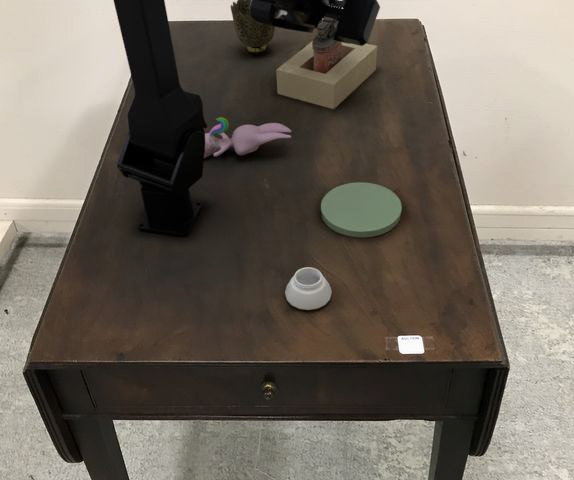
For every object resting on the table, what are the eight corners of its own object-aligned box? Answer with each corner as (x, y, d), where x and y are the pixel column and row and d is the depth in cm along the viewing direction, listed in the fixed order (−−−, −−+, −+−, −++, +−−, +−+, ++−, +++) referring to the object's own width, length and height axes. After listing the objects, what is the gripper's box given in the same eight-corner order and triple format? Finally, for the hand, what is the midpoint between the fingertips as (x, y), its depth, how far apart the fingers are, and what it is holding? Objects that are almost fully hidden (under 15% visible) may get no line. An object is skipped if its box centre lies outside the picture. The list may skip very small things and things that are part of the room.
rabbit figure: (187, 175, 96) (293, 157, 94) (173, 137, 92) (284, 118, 90) (192, 150, 101) (293, 132, 98) (179, 113, 96) (285, 94, 94)
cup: (233, 62, 116) (228, 14, 110) (236, 42, 121) (232, -5, 115) (277, 61, 116) (275, 13, 110) (279, 41, 121) (277, -6, 115)
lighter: (326, 68, 113) (327, 6, 106) (346, 72, 112) (348, 9, 105) (308, 91, 108) (307, 27, 101) (328, 95, 107) (328, 31, 100)
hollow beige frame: (333, 109, 104) (334, 84, 102) (269, 91, 109) (268, 67, 106) (375, 70, 112) (377, 45, 110) (314, 55, 117) (314, 31, 114)
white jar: (315, 318, 75) (339, 291, 77) (315, 299, 72) (340, 271, 75) (277, 301, 77) (301, 275, 79) (275, 281, 74) (301, 255, 77)
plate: (395, 242, 83) (395, 236, 82) (312, 231, 85) (312, 225, 84) (406, 193, 89) (406, 186, 89) (329, 184, 91) (329, 178, 91)
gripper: (378, -67, 87) (407, -7, 102) (254, -87, 94) (298, -29, 109) (346, 20, 88) (380, 67, 103) (226, -6, 96) (273, 41, 110)
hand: (332, 34), depth 106 cm, fingers open, 7 cm apart
